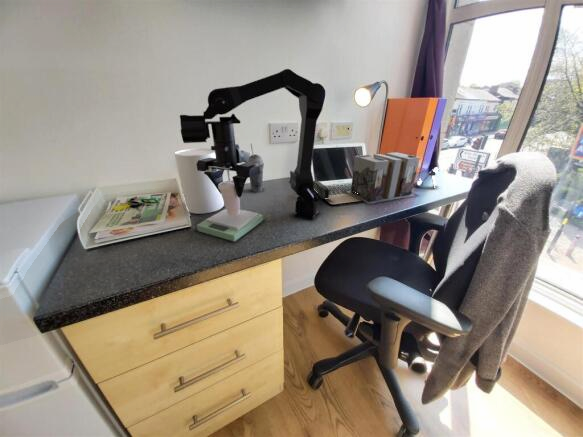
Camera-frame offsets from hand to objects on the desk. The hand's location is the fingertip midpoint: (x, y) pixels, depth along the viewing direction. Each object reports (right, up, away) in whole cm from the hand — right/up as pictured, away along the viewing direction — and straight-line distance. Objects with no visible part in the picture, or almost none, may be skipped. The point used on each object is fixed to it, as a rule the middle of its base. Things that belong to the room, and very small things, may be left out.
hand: (230, 195), depth 71 cm
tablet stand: (+82, +8, +40) cm, 92 cm away
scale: (-1, -9, +3) cm, 10 cm away
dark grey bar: (+31, +2, +28) cm, 41 cm away
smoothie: (0, -6, +3) cm, 6 cm away
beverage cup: (+3, +5, +34) cm, 35 cm away
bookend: (+57, +4, +31) cm, 65 cm away
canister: (-14, -3, +18) cm, 23 cm away
